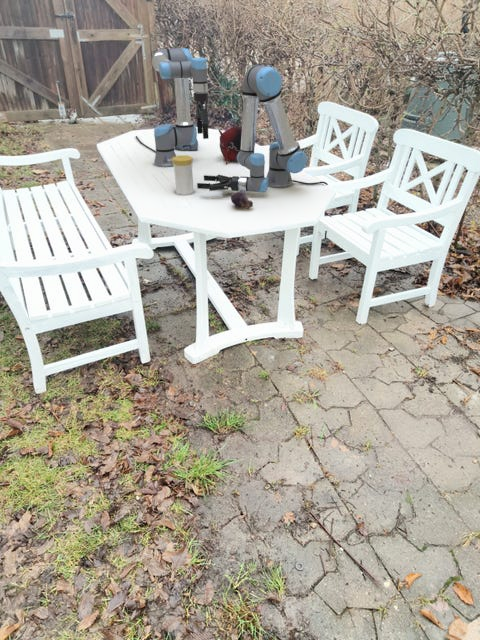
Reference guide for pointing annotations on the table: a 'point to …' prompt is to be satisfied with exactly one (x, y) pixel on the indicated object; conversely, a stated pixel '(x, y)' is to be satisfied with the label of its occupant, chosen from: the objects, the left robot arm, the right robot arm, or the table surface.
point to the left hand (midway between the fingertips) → (202, 136)
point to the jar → (183, 179)
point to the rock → (241, 200)
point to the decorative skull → (231, 143)
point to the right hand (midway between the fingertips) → (200, 181)
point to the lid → (182, 160)
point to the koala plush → (188, 146)
